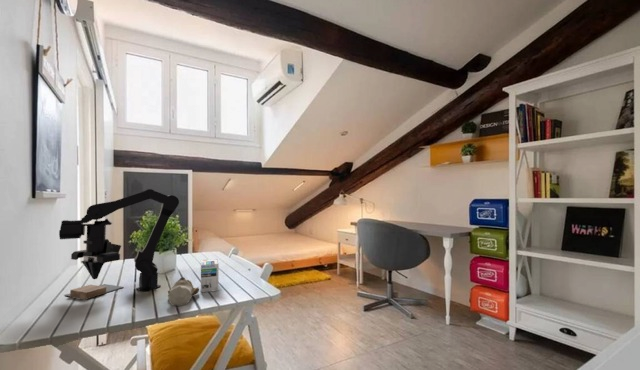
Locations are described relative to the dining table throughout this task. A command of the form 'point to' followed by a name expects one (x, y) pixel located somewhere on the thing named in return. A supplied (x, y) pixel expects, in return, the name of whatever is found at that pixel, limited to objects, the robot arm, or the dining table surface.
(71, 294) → the walnut tile
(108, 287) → the mat
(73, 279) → the dining table surface
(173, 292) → the ceramic sculpture
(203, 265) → the light bulb box
